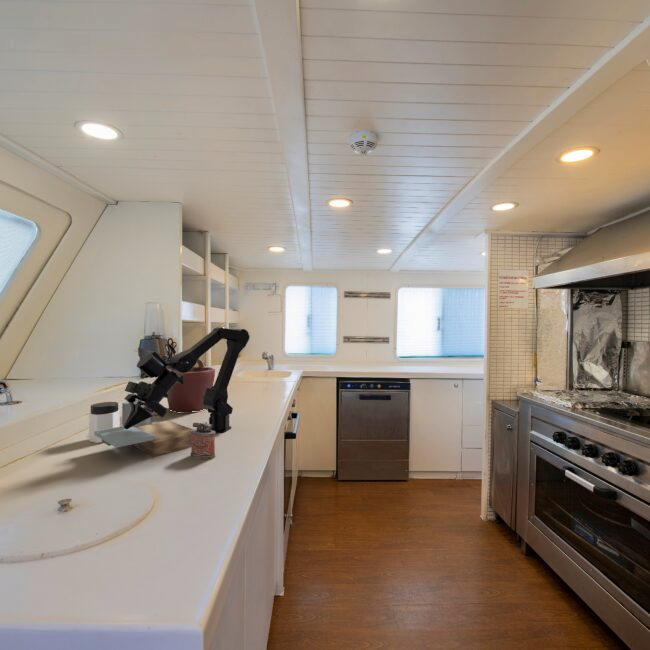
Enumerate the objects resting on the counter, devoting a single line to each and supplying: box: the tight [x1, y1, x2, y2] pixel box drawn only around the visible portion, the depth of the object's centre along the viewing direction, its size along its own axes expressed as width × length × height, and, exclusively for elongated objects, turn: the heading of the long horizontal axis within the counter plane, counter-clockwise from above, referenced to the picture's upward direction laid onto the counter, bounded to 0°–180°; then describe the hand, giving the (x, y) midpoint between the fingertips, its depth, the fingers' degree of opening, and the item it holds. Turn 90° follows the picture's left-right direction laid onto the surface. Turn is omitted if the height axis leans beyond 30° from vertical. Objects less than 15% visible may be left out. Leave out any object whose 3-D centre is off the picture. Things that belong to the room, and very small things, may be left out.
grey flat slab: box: [94, 426, 153, 448], centre depth 107 cm, size 2×18×10 cm
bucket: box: [166, 358, 216, 412], centre depth 166 cm, size 24×22×25 cm
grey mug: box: [121, 400, 159, 427], centre depth 137 cm, size 13×10×10 cm
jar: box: [88, 401, 121, 444], centre depth 121 cm, size 9×8×12 cm
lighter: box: [190, 421, 216, 460], centre depth 105 cm, size 8×3×10 cm, turn 71°
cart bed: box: [131, 420, 195, 457], centre depth 115 cm, size 13×18×5 cm
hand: (125, 428), depth 107 cm, fingers closed
